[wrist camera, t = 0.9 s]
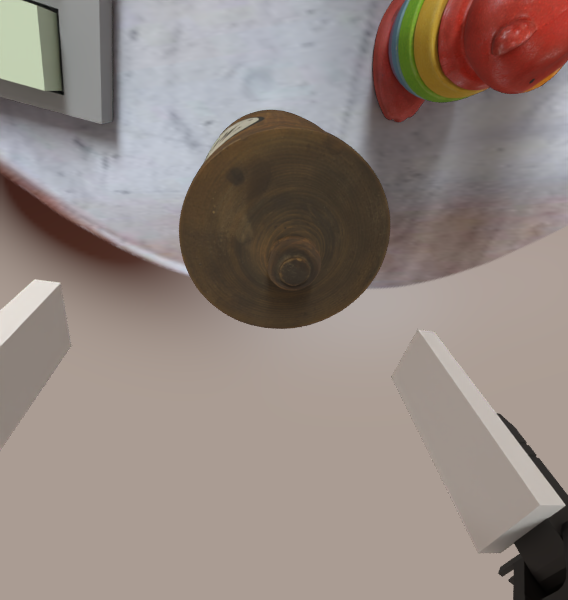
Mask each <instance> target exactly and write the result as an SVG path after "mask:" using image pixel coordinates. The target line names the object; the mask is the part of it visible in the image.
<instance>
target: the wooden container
mask: <svg viewBox="0 0 568 600" xmlns="http://www.w3.org/2000/svg"><path fill="white" fill-rule="evenodd" d="M389 236H390V215H389V208H388V203H387V199H386V196H385V193H384V190H383V188H382V186H381V183H380V181H379V179H378V178H377V176H376V174H375V173H374V171H373V170H372V168H371V167H370V166H369V164H368V163H367V162H366V161H365V160H364V159H363V158H362V157H361V156H360V155H359V154H358V153H357V152H356V151H355V150H354V149H353V148H352V147H350V146H349V145H348V144H346V143H345V142H343V141H342V140H340V139H339V138H337V137H335V136H334V135H332V134H330V133H327V132H325V131H324V130H322V129H321V128H320V127H318V126H317V125H315V124H314V123H312V122H310V121H308V120H306V119H304V118H302V117H300V116H297V115H295V114H292V113H289V112H285V111H279V110H262V111H257V112H254V113H250V114H248V115H245V116H243V117H241V118H240V119H238V120H236V121H235V122H233V123H232V124H231V125H230V126H229V127H227V128H226V129H225V130H224V131H223V133H222V134H221V135H220V136H219V138H218V139H217V141H216V142H215V143H214V145H213V146H212V148H211V150H210V151H209V153H208V155H207V157H206V159H205V161H204V163H203V165H202V166H201V168H200V169H199V171H198V172H197V174H196V176H195V177H194V179H193V181H192V183H191V185H190V187H189V189H188V192H187V194H186V197H185V200H184V203H183V206H182V210H181V216H180V223H179V238H180V247H181V253H182V257H183V260H184V263H185V266H186V269H187V271H188V273H189V275H190V277H191V279H192V281H193V282H194V284H195V286H196V287H197V288H198V290H199V291H200V292H201V293H202V295H203V296H204V297H205V298H206V299H207V300H208V301H209V302H210V303H212V305H214V306H215V307H216V308H218V309H219V310H220V311H222V312H223V313H225V314H227V315H228V316H230V317H232V318H234V319H236V320H238V321H241V322H244V323H247V324H250V325H254V326H259V327H264V328H277V329H278V328H279V329H285V328H296V327H302V326H307V325H310V324H313V323H316V322H319V321H322V320H324V319H326V318H329V317H331V316H333V315H335V314H336V313H338V312H340V311H342V310H343V309H344V308H346V307H347V306H349V305H350V304H351V303H352V302H354V301H355V300H356V299H357V298H358V297H359V296H360V295H361V294H362V293H363V292H364V291H365V290H366V289H367V287H368V286H369V285H370V284H371V282H372V281H373V279H374V278H375V276H376V275H377V273H378V271H379V269H380V267H381V265H382V262H383V260H384V257H385V254H386V251H387V247H388V242H389Z"/></svg>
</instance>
